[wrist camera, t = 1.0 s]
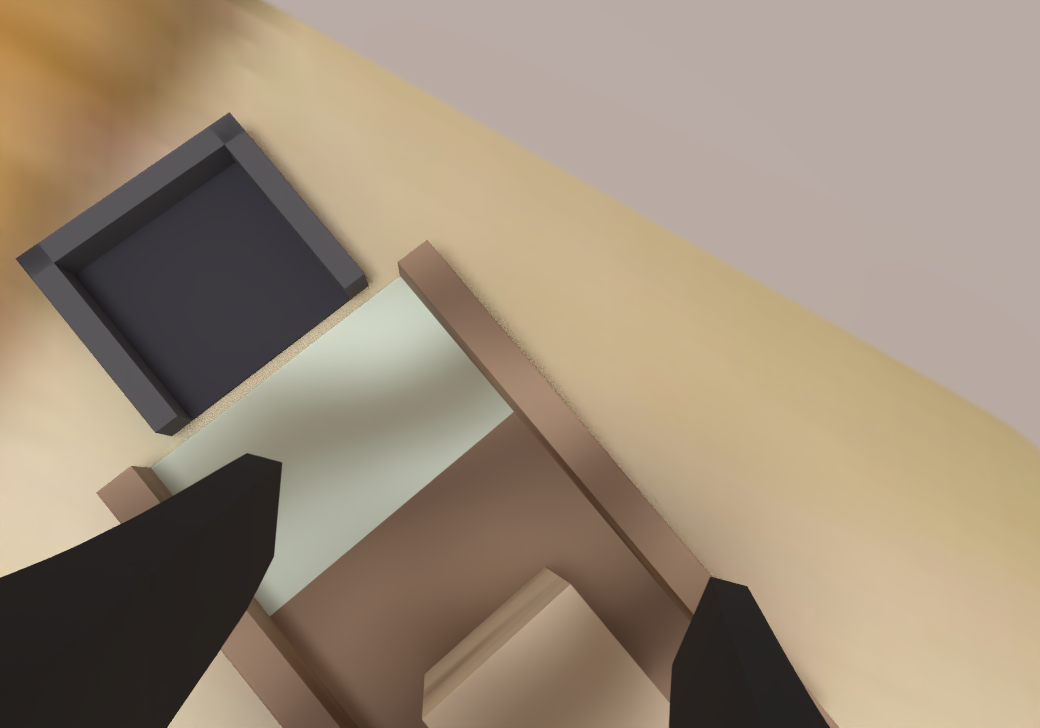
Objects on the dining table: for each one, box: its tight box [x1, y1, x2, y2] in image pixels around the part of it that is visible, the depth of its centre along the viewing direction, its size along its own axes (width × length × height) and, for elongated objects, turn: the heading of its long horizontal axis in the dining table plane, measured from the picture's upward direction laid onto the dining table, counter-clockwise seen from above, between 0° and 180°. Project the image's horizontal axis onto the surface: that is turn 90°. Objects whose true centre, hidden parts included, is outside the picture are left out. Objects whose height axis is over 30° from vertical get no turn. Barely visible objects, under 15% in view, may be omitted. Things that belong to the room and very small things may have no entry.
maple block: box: [422, 567, 670, 728], centre depth 22 cm, size 5×5×5 cm
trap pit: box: [16, 112, 368, 436], centre depth 25 cm, size 7×8×2 cm
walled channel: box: [97, 240, 839, 728], centre depth 24 cm, size 20×12×2 cm, turn 40°
